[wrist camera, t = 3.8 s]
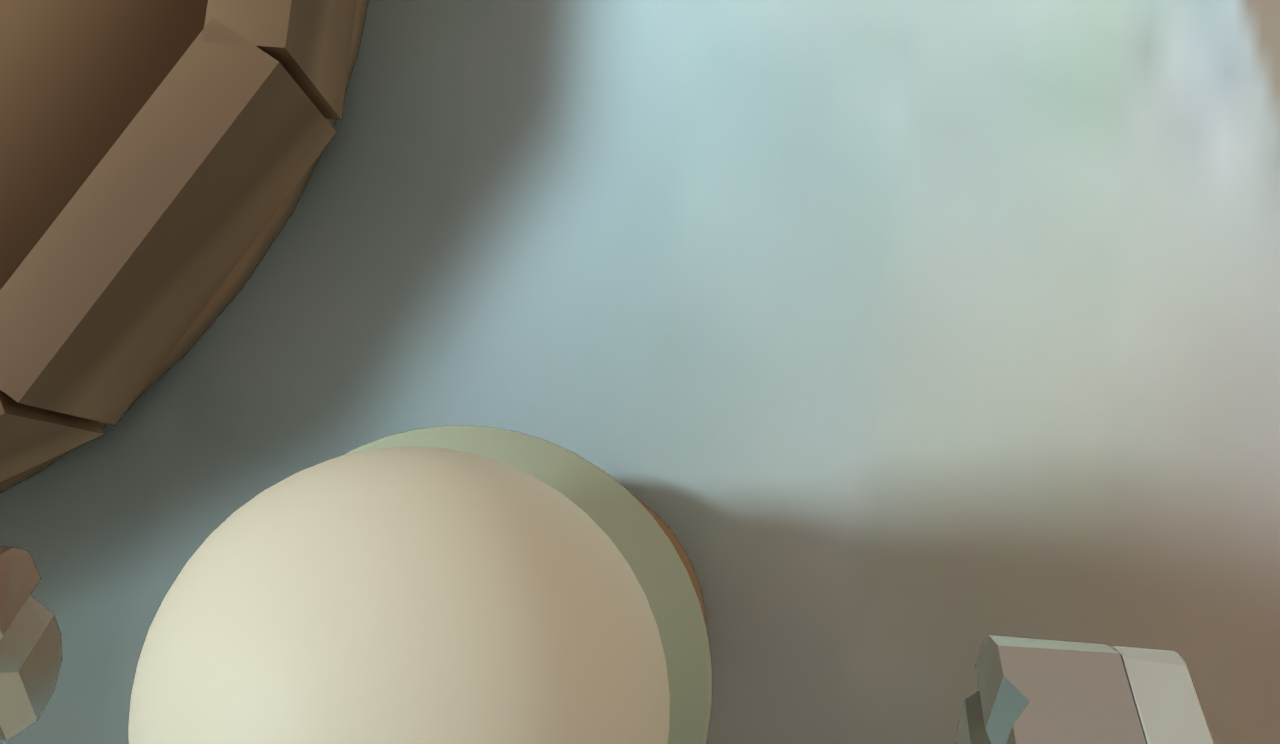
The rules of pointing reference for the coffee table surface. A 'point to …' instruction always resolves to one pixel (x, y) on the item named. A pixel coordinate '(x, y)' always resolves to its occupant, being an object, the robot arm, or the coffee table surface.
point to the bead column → (432, 608)
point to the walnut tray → (143, 188)
